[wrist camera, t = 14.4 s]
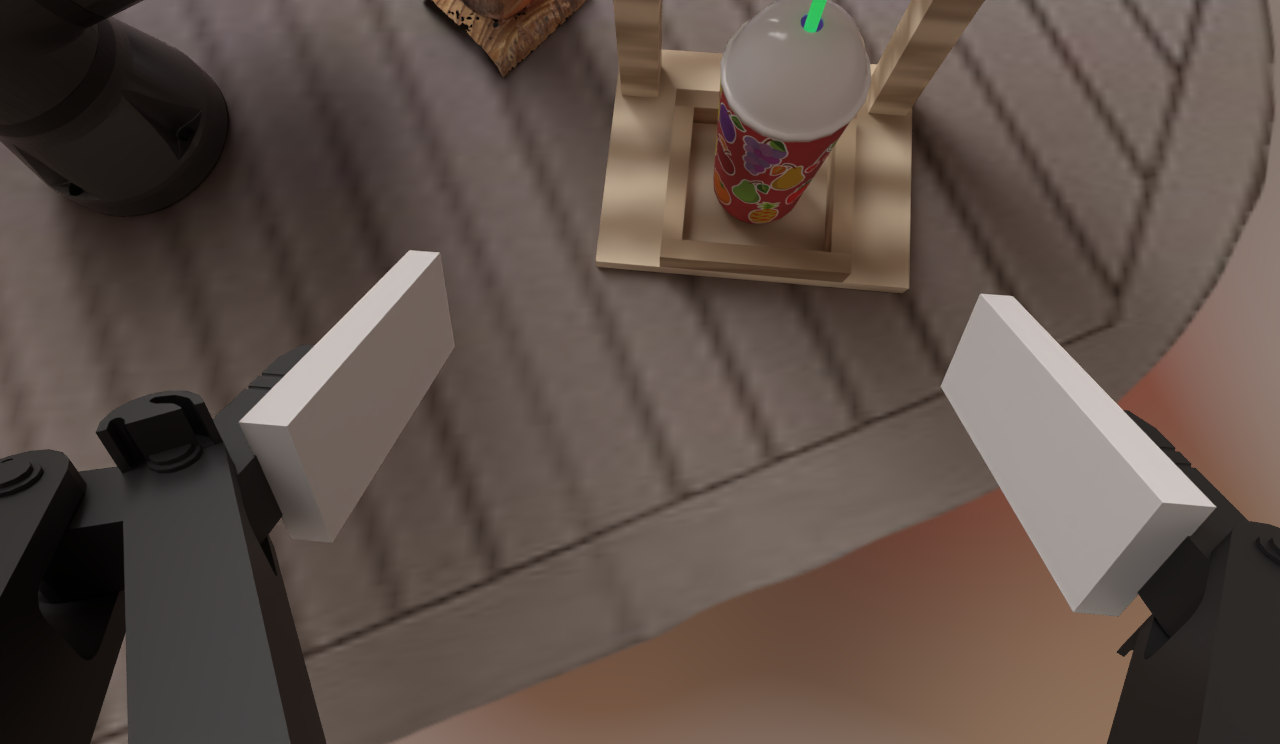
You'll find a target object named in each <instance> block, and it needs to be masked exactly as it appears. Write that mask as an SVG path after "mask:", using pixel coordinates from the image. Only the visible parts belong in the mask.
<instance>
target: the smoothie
mask: <svg viewBox="0 0 1280 744" xmlns="http://www.w3.org/2000/svg"><path fill="white" fill-rule="evenodd" d="M720 64H721V79H720V93H719V107H718V121H717V135H716V149H715V164H714V177H713V180H714V191H715V194H716V196H717V199H718V201H719V203H720V204H721V205H722V206H723V208H724V209H725V210H726V211H727V212H728V213H729V214H730V215H732V216H733V217H735V218H737V219H738V220H740V221H743V222H747V223H750V224H760V223H769V222H772V221H775V220H778V219H781V218H782V217H784V216H785V215H786V214H788V213H789V212H790V211H792V209H793V208H794V206H795V205H796V203H797V202H798V201H799V199H800V197H801V196H802V194H803V193H804V191H805V190H806V188H807V187H808V185H809V184H810V182H811V181H812V179H813V178H814V176H815V175H816V173H817V172H818V170H819V169H820V167H821V165H822V164H823V162H824V161H825V159H826V158H827V156H828V155H829V153H830V152H831V150H832V149H833V147H834V146H835V144H836V143H837V141H838V140H839V138H840V137H841V135H842V134H843V132H844V131H845V129H846V128H847V126H848V125H849V123H850V122H851V120H852V119H853V118H854V117H855V115H856V114H857V112H858V111H859V110H860V108H861V107H862V106H863V104H864V103H865V101H866V98H867V95H868V91H869V88H870V84H871V70H870V60H869V57H868V55H867V53H866V50H865V42H864V40H863V38H862V35H861V33H860V31H859V29H858V26H857V24H856V22H855V20H854V19H853V18H852V17H851V16H850V15H849V14H848V13H847V12H846V11H845V10H844V9H843V8H842V7H841V6H839V5H838V4H836V3H834V2H832V1H831V0H777V1H775V2H773V3H771V4H770V5H768V6H767V7H765V8H764V9H762V10H761V11H759V12H758V13H756V14H755V15H754V16H753V17H752V18H751V19H750V20H749V21H747V22H746V23H744V24H743V25H741V26H740V27H739V29H738V30H737V31H736V32H735V34H734V35H733V36H732V37H731V39H730V40H729V41H728V42H727V45H726V48H725V51H724V54H723V56H722V59H721V62H720Z"/></svg>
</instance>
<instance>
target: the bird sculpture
mask: <svg viewBox="0 0 1280 744" xmlns="http://www.w3.org/2000/svg"><path fill="white" fill-rule="evenodd" d="M433 1H434V3H435V4H436V5H437V6H438V7H439V8H440V9H441V10H443V12H445V13H446V14H447V15H448V17H449V18H451V19H453V20H454V21H455V23H457V24H458V26H459V25H461V23H464V24H467V25H468V26H469V27H470V25H473V26H472V28H468V29H470V30H471V31H470V32H469V31H467V32H468V33H469V35H470V36H471V37H472V39H474V40H475V41H476V43H477V44H479V45H481V46H482V48H483V50H484V51H485V52H486V53H487V54H488V56H489V57H490V58H491V59H492V61H493V62H494V63H495V64H496V66H497V67H498V69H499V71H500V73H501V75H502V76H503V78H504V77H505V75H506V74H508V71H509V70H510V71H511V70H512V69H511V68H512V67H513V68H515V67H516V66H517V62H521V61H522V60H521V59H525V57H526V56H528V54H530V53H531V51H530V50H532V51H534V49H536V48H537V45H538V46H539V45H541V43H542V41H543V42H544V41H545V39H546V38H547V37H548V35H549V34H551V33H554V31H555V30H556V29H555V28H556V27H557V26H559V25H558V24H560V26H561V24H563V23H564V21H565V18H566V17H568V18H569V15H572V14H573V13H574V12H575V10H576V11H577V10H578V9H579V7H580V6H581V5H582V4H583V3H584V1H586V0H433ZM525 7H526V9H525V10H523V8H525ZM449 10H450V11H451V12H453V13H454V15H452V13H450V14H449V13H448V11H449ZM461 10H463V11H462V12H461ZM456 11H459V14H460V15H459V19H456V18H457V16H456V15H457V14H456ZM472 11H475V13H474V12H472ZM523 12H525V14H522V15H521V14H520V16H518V15H517V14H518V13H523ZM572 12H573V13H572ZM471 13H474V14H473V15H470V14H471ZM461 17H465V18H464V21H463V22H461V20H462V18H461ZM466 17H467V18H468V17H472V19H471V20H469V19H466ZM474 17H476V18H477V17H479V20H476V18H474ZM515 17H517V19H516V20H515ZM492 19H495V20H496V19H497V20H498V22H496V23H495V22H494V20H492ZM456 20H457V21H456ZM473 21H474V23H473ZM557 23H558V24H557ZM488 24H490V25H489V26H487V25H488ZM489 38H490V39H492V40H490V39H489ZM538 40H539V41H538ZM485 41H486V42H485Z"/></svg>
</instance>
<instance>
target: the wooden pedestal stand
mask: <svg viewBox="0 0 1280 744" xmlns="http://www.w3.org/2000/svg"><path fill="white" fill-rule="evenodd" d="M984 1H985V0H911V2H910V4H909V6H908V8H907V10H906V12H905V13H904V15H903V17H902V19H901V21H900V23H899V25H898V27H897V29H896V30H895V32H894V34H893V36H892V38H891V40H890V42H889V44H888V46H887V47H886V49H885V51H884V53H883V55H882V57H881V59H880V61H879V63H878V64H870V70H871V84H870V88H869V91H868V95H867V98H866V101H865V103H864V104H863V106H862V107H861V108H860V110H859V111H858V112H857V114H856V115H855V117H854V118H853V119H852V120H851V122H850V123H849V125H848V126H847V128H846V129H845V131H844V132H843V134H842V135H841V137H840V138H839V140H838V141H837V143H836V144H835V146H834V147H833V149H832V150H831V152H830V153H829V155H828V156H827V158H826V159H825V161H824V162H823V164H822V165H821V167H820V169H819V170H818V172H817V173H816V175H815V176H814V178H813V179H812V181H811V182H810V184H809V185H808V187H807V188H806V190H805V191H804V193H803V194H802V196H801V197H800V199H799V201H798V202H797V203H796V205H795V206H794V208H793V209H792V211H790V212H789V213H788V214H786V215H785V216H784V217H782V218H781V219H778V220H775V221H772V222H769V223H760V224H750V223H747V222H743V221H740V220H738V219H737V218H735V217H733V216H732V215H730V214H729V213H728V212H727V211H726V210H725V209H724V208H723V206H722V205H721V204H720V203H719V201H718V199H717V196H716V194H715V191H714V180H713V177H714V164H715V149H716V135H717V121H718V107H719V93H720V79H721V64H720V62H721V59H722V56H723V54H719V53H704V52H690V51H675V50H662V0H613V3H614V14H615V25H616V37H617V48H618V59H619V72H618V80H617V88H616V96H615V105H614V113H613V121H612V129H611V138H610V146H609V154H608V162H607V171H606V179H605V187H604V196H603V204H602V212H601V220H600V229H599V237H598V245H597V253H596V265H597V267H605V268H616V269H628V270H639V271H651V272H663V273H674V274H686V275H697V276H709V277H720V278H732V279H744V280H755V281H767V282H778V283H790V284H802V285H813V286H825V287H836V288H848V289H859V290H871V291H883V292H894V293H903V292H905V291H906V290H907V289H909V266H910V209H911V152H912V106H913V105H914V103H915V102H916V100H917V99H918V97H919V96H920V94H921V93H922V91H923V90H924V89H925V87H926V86H927V84H928V83H929V81H930V80H931V78H932V77H933V75H934V74H935V72H936V71H937V69H938V68H939V67H940V65H941V64H942V62H943V61H944V59H945V58H946V56H947V55H948V53H949V52H950V50H951V49H952V47H953V46H954V45H955V43H956V42H957V40H958V39H959V37H960V36H961V34H962V33H963V31H964V30H965V28H966V27H967V26H968V24H969V23H970V21H971V20H972V18H973V17H974V15H975V14H976V12H977V11H978V9H979V8H980V6H981V5H982V4H983V2H984Z"/></svg>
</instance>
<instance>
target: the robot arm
mask: <svg viewBox="0 0 1280 744" xmlns="http://www.w3.org/2000/svg"><path fill="white" fill-rule="evenodd" d="M141 1H143V0H0V141H1V142H2V143H3V144H4V145H5V146H6V147H7V148H8V149H9V150H10V151H11V152H13V153H14V154H15V155H16V156H17V157H18V158H19V159H20V160H21V161H22V162H23V163H24V164H25V165H26V166H28V167H29V168H30V169H31V170H32V171H33V172H34V173H35V174H36V175H37V176H38V177H39V178H40V179H42V180H43V181H44V182H45V183H46V184H47V185H48V186H49V187H51V188H52V189H53V190H55V191H56V192H58V193H59V194H61V195H63V196H64V197H66V198H68V199H70V200H72V201H74V202H77V203H79V204H81V205H83V206H85V207H87V208H89V209H91V210H94V211H96V212H99V213H103V214H107V215H114V216H134V215H141V214H146V213H150V212H154V211H157V210H160V209H162V208H165V207H167V206H169V205H171V204H173V203H175V202H177V201H178V200H180V199H181V198H183V197H184V196H186V195H187V194H189V193H190V192H191V191H192V190H193V189H195V188H196V187H197V186H198V185H199V184H200V183H201V182H202V181H203V180H204V179H205V177H206V176H207V175H208V174H209V172H210V171H211V169H212V168H213V166H214V165H215V163H216V161H217V160H218V158H219V156H220V153H221V151H222V148H223V146H224V142H225V139H226V134H227V122H228V120H227V109H226V105H225V101H224V98H223V96H222V93H221V91H220V90H219V88H218V86H217V85H216V83H215V82H214V81H213V79H212V78H211V77H210V76H209V75H208V74H207V73H206V72H205V71H203V70H202V69H201V68H200V67H199V66H198V65H197V64H196V63H195V62H194V61H192V60H191V59H190V58H189V57H188V56H187V55H185V54H184V53H182V52H181V51H179V50H178V49H176V48H175V47H173V46H171V45H169V44H167V43H165V42H162V41H160V40H158V39H156V38H154V37H152V36H150V35H148V34H146V33H144V32H142V31H140V30H138V29H136V28H134V27H132V26H130V25H128V24H126V23H124V22H121V21H119V20H117V19H115V18H113V17H111V16H113V15H115V14H117V13H119V12H121V11H123V10H125V9H127V8H129V7H131V6H133V5H135V4H137V3H139V2H141ZM454 347H455V344H454V337H453V331H452V325H451V318H450V312H449V306H448V300H447V293H446V287H445V281H444V274H443V268H442V262H441V256H440V253H439V252H426V251H413V250H409V251H408V252H407V253H406V254H405V255H404V256H403V257H402V258H401V259H400V260H399V261H398V262H397V263H396V264H395V265H394V266H393V267H392V268H391V269H390V270H389V271H388V272H387V273H386V274H385V275H384V276H383V277H382V278H381V279H380V280H379V281H378V282H377V283H376V284H375V285H374V286H373V287H372V288H371V289H370V290H369V291H368V292H367V293H366V295H365V296H364V297H363V298H362V299H361V300H360V301H359V302H358V303H357V304H356V305H355V306H354V307H353V308H352V309H351V310H350V311H349V312H348V313H347V314H346V315H345V316H344V317H343V318H342V319H341V320H340V321H339V322H338V323H337V324H336V325H335V326H334V327H333V328H332V329H331V330H330V331H329V332H328V333H327V334H326V335H325V336H324V337H323V338H322V339H321V340H320V341H319V342H318V343H317V344H316V345H315V346H314V345H301V346H299V347H297V348H295V349H293V350H291V351H289V352H288V353H286V354H284V355H282V356H280V357H278V358H277V359H276V360H275V361H274V362H273V363H272V364H271V365H270V366H269V367H268V368H267V369H266V370H265V371H263V372H262V376H258V377H257V378H256V379H255V380H254V381H253V382H252V383H251V384H250V385H249V388H248V389H244V390H243V391H242V392H241V393H240V394H239V395H238V396H237V397H236V398H235V399H234V400H233V401H232V402H231V403H230V404H229V405H227V406H226V407H225V408H224V409H223V410H222V411H221V412H220V413H219V414H218V415H217V416H216V417H215V418H214V419H212V417H211V415H210V413H209V411H208V409H207V407H206V405H205V403H204V401H203V400H202V399H201V397H200V396H199V395H198V394H195V393H192V392H189V391H165V392H159V393H154V394H149V395H146V396H143V397H140V398H138V399H135V400H132V401H129V402H128V403H126V404H124V405H122V406H120V407H118V408H117V409H115V410H113V411H112V412H111V413H109V414H108V415H107V416H106V417H105V418H104V419H103V420H102V421H101V422H100V424H99V426H98V428H97V431H96V434H97V435H98V437H99V438H100V440H101V442H102V443H103V445H104V446H105V448H106V449H107V451H108V452H109V454H110V456H111V457H112V459H113V460H114V462H115V463H116V465H117V467H111V468H103V469H96V470H88V471H81V472H78V471H77V469H76V468H75V467H74V465H73V464H72V462H71V461H70V459H69V458H68V457H67V456H66V455H65V454H64V453H63V452H59V451H54V450H49V449H48V450H36V451H28V452H24V453H20V454H17V455H11V456H8V457H5V458H2V459H0V744H90V742H91V739H92V736H93V733H94V730H95V727H96V723H97V720H98V717H99V714H100V711H101V708H102V705H103V701H104V698H105V695H106V692H107V689H108V686H109V683H110V680H111V676H112V673H113V670H114V667H115V664H116V661H117V658H118V654H119V651H120V648H121V645H122V642H123V639H124V636H125V632H126V663H127V707H128V744H326V740H325V736H324V732H323V729H322V725H321V721H320V717H319V714H318V710H317V706H316V703H315V699H314V695H313V691H312V688H311V684H310V680H309V676H308V673H307V669H306V665H305V661H304V658H303V654H302V650H301V646H300V643H299V639H298V635H297V631H296V628H295V624H294V620H293V616H292V613H291V609H290V605H289V601H288V598H287V594H286V590H285V586H284V583H283V579H282V575H281V571H280V568H279V564H278V560H277V556H276V553H275V549H274V546H273V544H272V542H271V539H270V537H269V535H268V534H269V533H270V532H271V530H272V529H273V528H274V526H275V525H276V524H277V522H278V521H279V520H280V518H281V517H282V520H283V522H284V524H285V526H286V528H287V531H288V533H289V535H290V537H291V539H297V540H308V541H319V542H329V543H333V541H334V540H335V538H336V536H337V535H338V533H339V532H340V530H341V528H342V527H343V525H344V524H345V522H346V520H347V519H348V517H349V516H350V514H351V512H352V511H353V509H354V508H355V506H356V504H357V503H358V501H359V500H360V498H361V496H362V495H363V493H364V492H365V490H366V488H367V487H368V485H369V484H370V482H371V480H372V479H373V477H374V476H375V474H376V472H377V471H378V469H379V468H380V466H381V464H382V463H383V461H384V460H385V458H386V456H387V455H388V453H389V452H390V450H391V448H392V447H393V445H394V444H395V442H396V440H397V439H398V437H399V436H400V434H401V432H402V431H403V429H404V428H405V426H406V424H407V423H408V421H409V420H410V418H411V416H412V415H413V413H414V412H415V410H416V408H417V407H418V405H419V404H420V402H421V400H422V399H423V397H424V396H425V394H426V392H427V391H428V389H429V388H430V386H431V384H432V383H433V381H434V380H435V378H436V376H437V375H438V373H439V372H440V370H441V368H442V367H443V365H444V363H445V362H446V360H447V359H448V357H449V355H450V354H451V352H452V351H453V349H454ZM941 388H942V390H943V391H944V393H945V395H946V396H947V398H948V400H949V401H950V403H951V405H952V407H953V408H954V410H955V412H956V413H957V415H958V417H959V418H960V420H961V422H962V424H963V425H964V427H965V429H966V430H967V432H968V434H969V435H970V437H971V439H972V441H973V442H974V444H975V446H976V447H977V449H978V451H979V452H980V454H981V456H982V458H983V459H984V461H985V463H986V464H987V466H988V468H989V469H990V471H991V473H992V475H993V476H994V478H995V480H996V481H997V483H998V485H999V486H1000V488H1001V490H1002V492H1003V493H1004V495H1005V497H1006V498H1007V500H1008V502H1009V503H1010V505H1011V507H1012V509H1013V510H1014V512H1015V514H1016V515H1017V517H1018V519H1019V521H1020V522H1021V524H1022V525H1023V527H1024V529H1025V530H1026V532H1027V534H1028V536H1029V538H1030V539H1031V541H1032V543H1033V544H1034V546H1035V548H1036V549H1037V551H1038V553H1039V555H1040V556H1041V558H1042V559H1043V561H1044V563H1045V565H1046V566H1047V568H1048V570H1049V572H1050V573H1051V575H1052V576H1053V578H1054V580H1055V582H1056V583H1057V585H1058V587H1059V588H1060V590H1061V592H1062V594H1063V595H1064V597H1065V599H1066V600H1067V602H1068V603H1069V606H1070V607H1071V609H1072V611H1073V612H1077V613H1088V614H1098V615H1109V616H1119V615H1120V614H1121V613H1122V612H1123V611H1124V610H1125V609H1126V608H1127V607H1128V605H1129V604H1130V603H1131V602H1132V601H1133V600H1134V599H1135V598H1136V596H1137V595H1138V594H1139V595H1140V597H1141V598H1142V600H1143V601H1144V603H1145V604H1146V605H1147V607H1148V608H1149V610H1150V611H1151V613H1152V615H1151V616H1150V617H1149V618H1148V619H1147V620H1146V621H1145V622H1144V623H1143V624H1142V625H1141V626H1140V627H1139V628H1138V629H1137V630H1136V632H1135V633H1134V634H1133V635H1132V636H1131V637H1130V638H1129V639H1128V640H1127V641H1126V642H1125V643H1124V644H1123V645H1122V646H1121V648H1120V649H1119V650H1118V651H1117V653H1119V654H1120V655H1122V656H1123V657H1124V656H1125V655H1126V654H1127V653H1128V652H1129V651H1130V650H1134V651H1133V654H1132V658H1131V661H1130V665H1129V668H1128V672H1127V675H1126V679H1125V682H1124V686H1123V689H1122V693H1121V696H1120V700H1119V703H1118V707H1117V711H1116V714H1115V717H1114V721H1113V724H1112V728H1111V731H1110V735H1109V738H1108V742H1107V744H1280V528H1278V527H1275V526H1272V525H1270V524H1264V523H1257V522H1251V521H1250V522H1249V521H1248V520H1247V519H1246V518H1245V517H1244V516H1243V515H1242V514H1241V513H1240V512H1239V511H1238V510H1237V509H1236V508H1235V507H1234V506H1233V505H1232V504H1231V503H1230V502H1229V501H1228V500H1227V499H1226V498H1225V497H1224V496H1223V495H1222V494H1221V493H1220V492H1219V491H1218V490H1217V489H1216V488H1215V487H1214V486H1213V485H1212V484H1211V483H1210V482H1209V481H1208V480H1207V479H1206V478H1205V477H1204V476H1203V475H1202V474H1201V473H1200V472H1199V471H1198V470H1197V469H1196V468H1191V463H1190V462H1189V461H1188V460H1187V459H1186V458H1185V457H1184V456H1183V455H1182V454H1181V453H1180V452H1176V451H1175V447H1174V446H1173V445H1172V444H1171V443H1170V442H1169V441H1168V440H1167V439H1166V438H1165V437H1164V436H1163V435H1162V434H1161V433H1160V432H1159V431H1158V430H1157V429H1156V428H1154V427H1153V426H1151V425H1150V424H1148V423H1147V422H1145V421H1144V420H1142V419H1140V418H1139V417H1138V416H1136V415H1134V414H1133V413H1131V412H1130V411H1127V410H1122V409H1121V408H1120V407H1119V406H1118V405H1117V404H1116V403H1115V402H1114V401H1113V399H1112V398H1111V397H1110V396H1109V395H1108V394H1107V393H1106V392H1105V391H1104V390H1103V389H1102V388H1101V387H1100V386H1099V385H1098V384H1097V383H1096V382H1095V381H1094V380H1093V379H1092V378H1091V377H1090V376H1089V375H1088V374H1087V373H1086V372H1085V370H1084V369H1083V368H1082V367H1081V366H1080V365H1079V364H1078V363H1077V362H1076V361H1075V360H1074V359H1073V358H1072V357H1071V356H1070V355H1069V354H1068V353H1067V352H1066V351H1065V350H1064V349H1063V348H1062V347H1061V346H1060V345H1059V344H1058V343H1057V341H1056V340H1055V339H1054V338H1053V337H1052V336H1051V335H1050V334H1049V333H1048V332H1047V331H1046V330H1045V329H1044V328H1043V327H1042V326H1041V325H1040V324H1039V323H1038V322H1037V321H1036V320H1035V319H1034V318H1033V317H1032V316H1031V315H1030V314H1029V313H1028V311H1027V310H1026V309H1025V308H1024V307H1023V306H1022V305H1021V304H1020V303H1019V302H1018V301H1017V300H1016V299H1015V298H1014V297H1013V296H1004V295H991V294H980V295H979V298H978V300H977V302H976V305H975V307H974V309H973V312H972V314H971V316H970V319H969V321H968V323H967V326H966V328H965V330H964V333H963V335H962V337H961V340H960V342H959V344H958V347H957V349H956V351H955V354H954V356H953V358H952V361H951V363H950V365H949V368H948V370H947V372H946V375H945V377H944V379H943V382H942V384H941Z"/></svg>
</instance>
